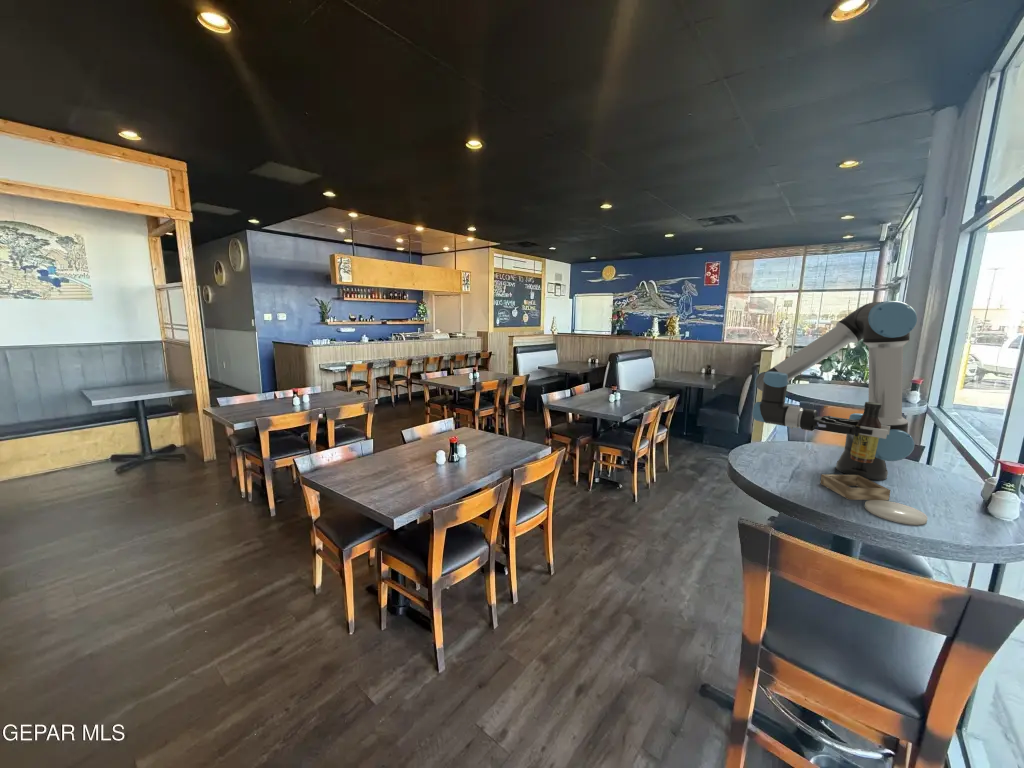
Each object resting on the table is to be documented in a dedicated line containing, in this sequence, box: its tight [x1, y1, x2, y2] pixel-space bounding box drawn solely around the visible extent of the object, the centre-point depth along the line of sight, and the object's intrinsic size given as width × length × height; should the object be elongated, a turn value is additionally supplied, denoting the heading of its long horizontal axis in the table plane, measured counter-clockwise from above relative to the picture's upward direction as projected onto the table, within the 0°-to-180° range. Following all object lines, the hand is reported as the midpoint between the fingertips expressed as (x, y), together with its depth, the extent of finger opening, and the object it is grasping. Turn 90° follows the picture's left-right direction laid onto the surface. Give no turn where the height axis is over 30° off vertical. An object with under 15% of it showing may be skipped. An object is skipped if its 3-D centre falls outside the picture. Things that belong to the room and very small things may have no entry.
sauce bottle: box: [850, 401, 881, 463], centre depth 135 cm, size 7×6×20 cm
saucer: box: [864, 500, 928, 526], centre depth 125 cm, size 14×14×1 cm
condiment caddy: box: [819, 473, 891, 501], centre depth 141 cm, size 13×13×4 cm
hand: (887, 432), depth 131 cm, fingers closed on sauce bottle, 6 cm apart
